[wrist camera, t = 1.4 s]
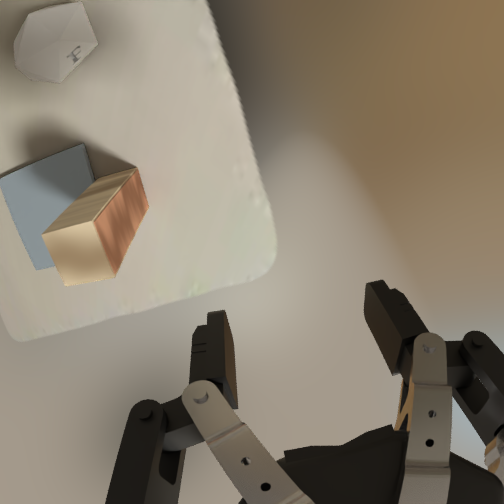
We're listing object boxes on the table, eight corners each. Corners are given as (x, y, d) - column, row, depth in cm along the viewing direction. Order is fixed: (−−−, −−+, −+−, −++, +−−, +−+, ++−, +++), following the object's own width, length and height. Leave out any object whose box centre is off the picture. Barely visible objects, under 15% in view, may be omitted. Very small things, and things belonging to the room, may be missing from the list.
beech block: (98, 178, 33) (41, 234, 21) (137, 167, 33) (92, 220, 21) (111, 216, 35) (65, 286, 23) (149, 207, 35) (116, 277, 23)
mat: (1, 177, 30) (-2, 179, 30) (83, 143, 30) (81, 144, 30) (38, 267, 38) (36, 270, 37) (119, 249, 38) (118, 252, 37)
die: (47, 93, 27) (57, 105, 22) (-1, 50, 20) (-7, 48, 14) (98, 40, 27) (124, 37, 22) (54, -5, 20) (68, -24, 14)
